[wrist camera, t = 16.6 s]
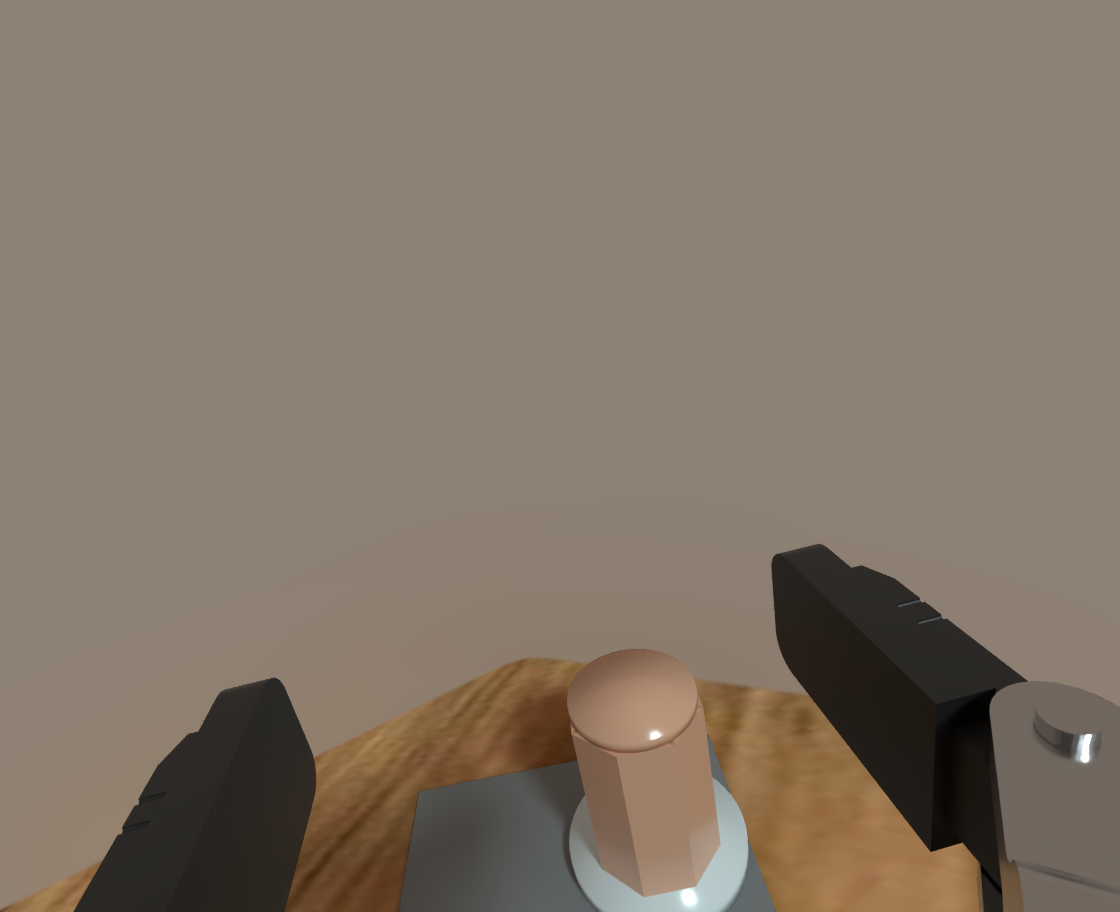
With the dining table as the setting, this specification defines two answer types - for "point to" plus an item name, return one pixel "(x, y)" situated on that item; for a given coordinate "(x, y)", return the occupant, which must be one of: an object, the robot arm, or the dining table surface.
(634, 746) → the domed octagonal post
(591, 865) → the saucer
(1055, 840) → the robot arm
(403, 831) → the dining table surface
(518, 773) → the rubber mat
